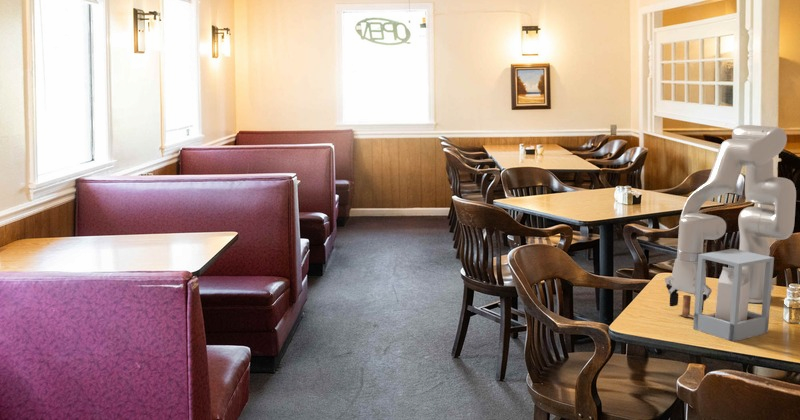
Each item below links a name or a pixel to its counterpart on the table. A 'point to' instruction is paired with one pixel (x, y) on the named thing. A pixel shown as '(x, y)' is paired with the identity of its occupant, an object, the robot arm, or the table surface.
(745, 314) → the milk carton
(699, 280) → the grey open frame
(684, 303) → the brown tray with handle
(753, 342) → the table surface
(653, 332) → the table surface
